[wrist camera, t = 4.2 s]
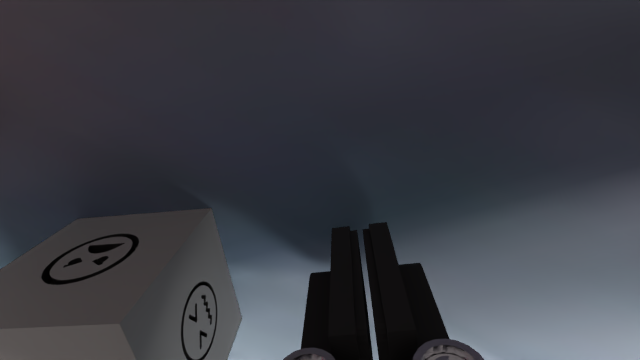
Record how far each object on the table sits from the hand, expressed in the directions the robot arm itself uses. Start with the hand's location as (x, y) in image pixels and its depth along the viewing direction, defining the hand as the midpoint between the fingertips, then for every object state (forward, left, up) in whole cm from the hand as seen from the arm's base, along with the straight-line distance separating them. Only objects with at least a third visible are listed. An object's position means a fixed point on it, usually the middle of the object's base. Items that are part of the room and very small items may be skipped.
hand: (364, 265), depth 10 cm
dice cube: (+7, 0, -2) cm, 8 cm away
